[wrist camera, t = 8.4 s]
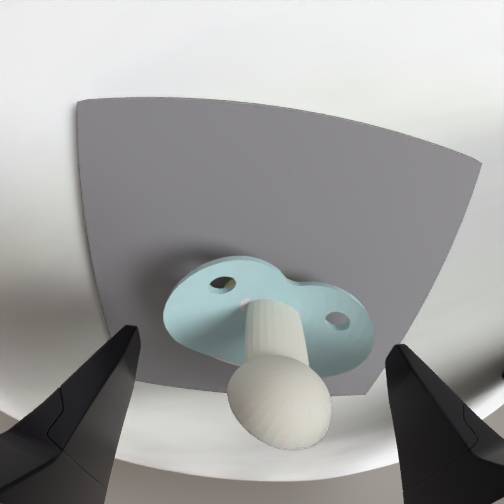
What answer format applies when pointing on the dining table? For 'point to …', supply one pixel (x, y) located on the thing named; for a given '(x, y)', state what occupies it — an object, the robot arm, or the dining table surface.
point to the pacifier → (271, 343)
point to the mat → (261, 216)
